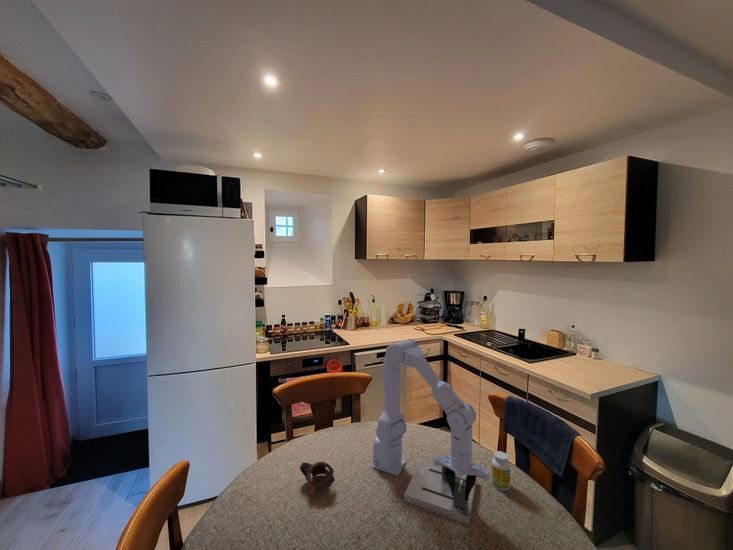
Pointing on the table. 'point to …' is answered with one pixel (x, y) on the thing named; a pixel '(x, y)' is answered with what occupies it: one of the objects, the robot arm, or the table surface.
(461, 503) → the block
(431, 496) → the fader panel
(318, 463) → the pottery mug
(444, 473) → the far fader
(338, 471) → the table surface
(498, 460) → the supplement bottle
